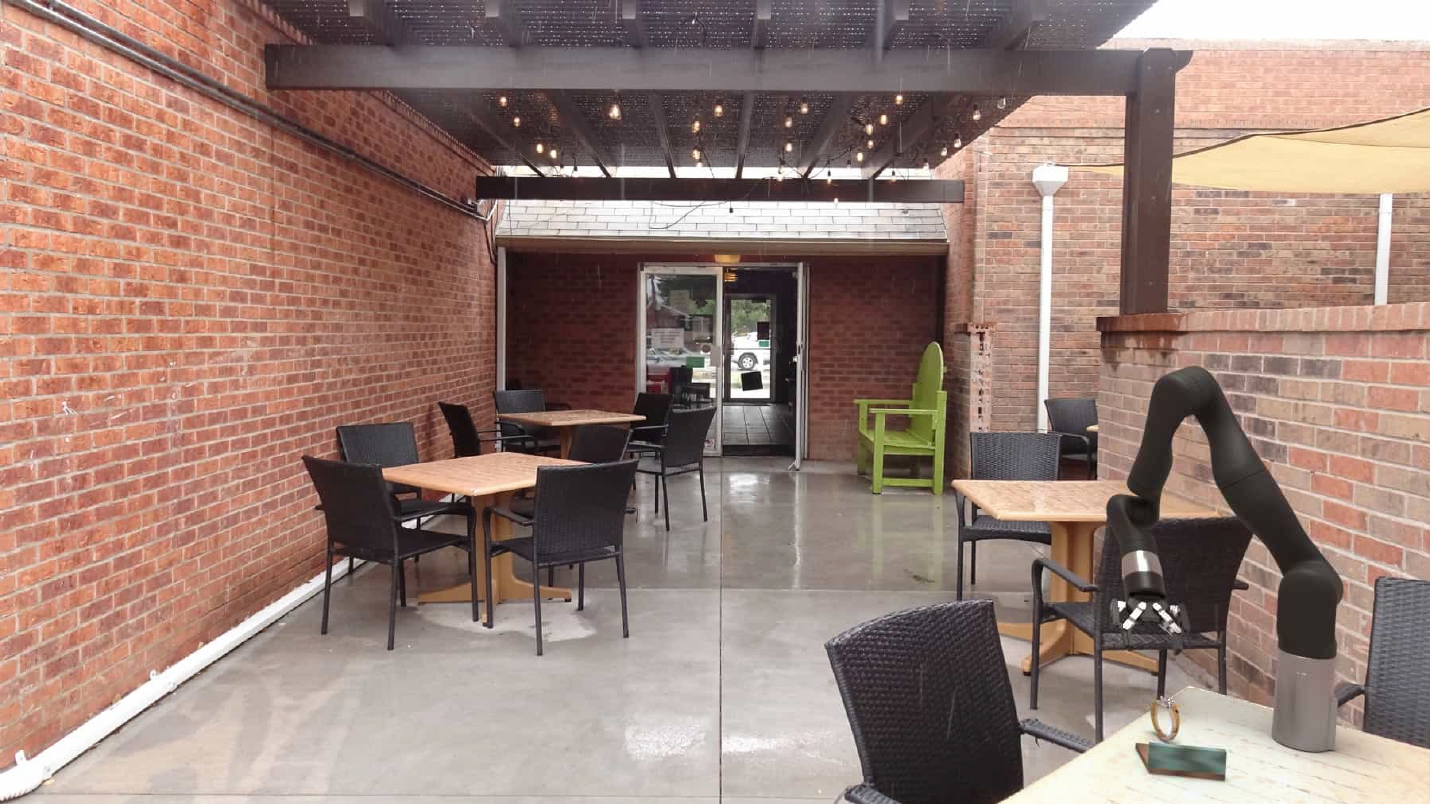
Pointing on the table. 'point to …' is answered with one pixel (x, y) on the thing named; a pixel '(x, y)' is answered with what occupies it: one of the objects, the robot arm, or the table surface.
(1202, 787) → the table surface
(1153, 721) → the gold diamond ring
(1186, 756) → the desk nameplate
